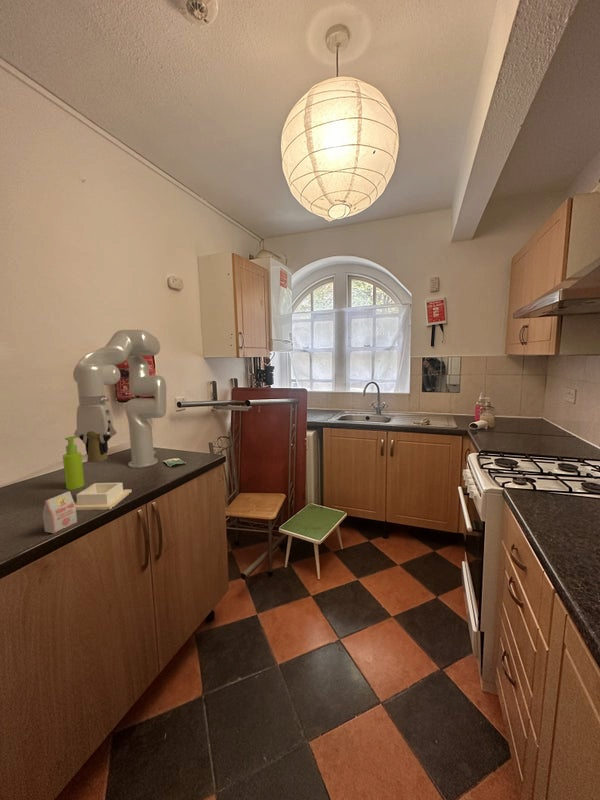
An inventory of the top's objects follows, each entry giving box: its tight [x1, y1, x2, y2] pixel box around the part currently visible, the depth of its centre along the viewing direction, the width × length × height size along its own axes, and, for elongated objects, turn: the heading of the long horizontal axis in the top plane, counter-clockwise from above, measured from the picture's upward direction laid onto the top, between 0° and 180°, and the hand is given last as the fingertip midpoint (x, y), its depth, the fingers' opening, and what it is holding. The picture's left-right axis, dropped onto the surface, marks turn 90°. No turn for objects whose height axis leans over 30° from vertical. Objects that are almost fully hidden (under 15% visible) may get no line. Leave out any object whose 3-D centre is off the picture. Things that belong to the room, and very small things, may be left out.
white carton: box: [42, 491, 78, 533], centre depth 92 cm, size 4×7×10 cm, turn 162°
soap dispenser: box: [62, 435, 85, 490], centre depth 123 cm, size 6×7×20 cm
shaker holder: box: [74, 482, 132, 511], centre depth 110 cm, size 14×14×4 cm
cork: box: [86, 431, 108, 463], centre depth 108 cm, size 6×6×11 cm
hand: (97, 453), depth 109 cm, fingers closed on cork, 3 cm apart
